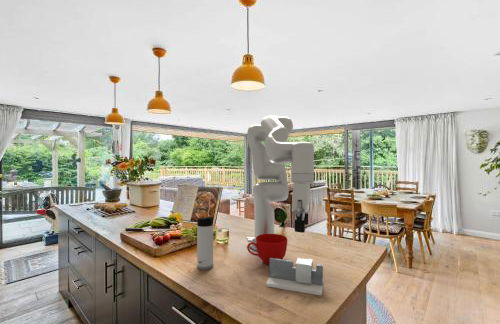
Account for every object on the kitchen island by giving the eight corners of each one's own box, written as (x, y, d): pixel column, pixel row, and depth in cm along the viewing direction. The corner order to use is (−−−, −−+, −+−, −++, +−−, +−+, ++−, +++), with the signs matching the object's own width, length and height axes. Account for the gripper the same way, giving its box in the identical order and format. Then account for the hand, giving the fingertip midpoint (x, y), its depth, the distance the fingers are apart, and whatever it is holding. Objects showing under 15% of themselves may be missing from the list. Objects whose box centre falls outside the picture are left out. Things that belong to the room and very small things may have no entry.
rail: (269, 277, 89) (269, 259, 89) (270, 276, 90) (270, 257, 90) (322, 285, 83) (322, 266, 83) (322, 284, 84) (322, 264, 84)
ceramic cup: (243, 259, 108) (243, 235, 108) (279, 254, 113) (279, 232, 113) (251, 271, 96) (251, 245, 96) (292, 266, 101) (292, 241, 101)
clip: (295, 281, 84) (295, 263, 84) (297, 274, 89) (297, 257, 89) (311, 283, 82) (311, 265, 82) (312, 276, 87) (312, 259, 87)
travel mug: (200, 271, 96) (200, 219, 96) (195, 265, 102) (195, 215, 102) (215, 268, 99) (215, 217, 99) (210, 262, 105) (210, 214, 105)
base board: (266, 286, 85) (266, 282, 85) (273, 273, 94) (273, 270, 94) (321, 295, 79) (321, 291, 79) (323, 281, 88) (323, 277, 88)
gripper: (295, 176, 96) (294, 220, 96) (286, 180, 80) (285, 234, 80) (315, 176, 93) (315, 222, 94) (310, 181, 77) (310, 236, 78)
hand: (301, 227), depth 87 cm, fingers open, 9 cm apart
